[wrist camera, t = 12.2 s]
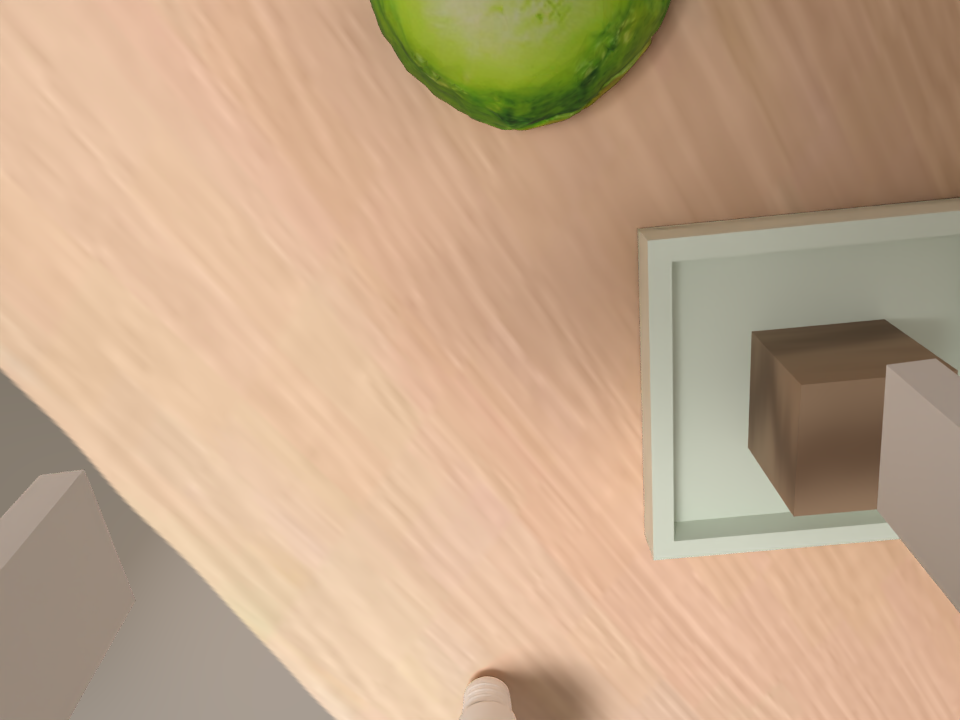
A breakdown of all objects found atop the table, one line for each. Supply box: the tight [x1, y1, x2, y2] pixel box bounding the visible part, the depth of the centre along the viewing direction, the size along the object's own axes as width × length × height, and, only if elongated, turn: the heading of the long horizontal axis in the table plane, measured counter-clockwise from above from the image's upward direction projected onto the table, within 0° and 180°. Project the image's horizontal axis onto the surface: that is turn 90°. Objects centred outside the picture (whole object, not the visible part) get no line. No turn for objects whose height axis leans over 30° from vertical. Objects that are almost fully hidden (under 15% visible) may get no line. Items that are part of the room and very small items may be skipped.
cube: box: [748, 319, 958, 517], centre depth 35 cm, size 6×6×6 cm
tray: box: [638, 197, 960, 560], centre depth 38 cm, size 16×16×2 cm
